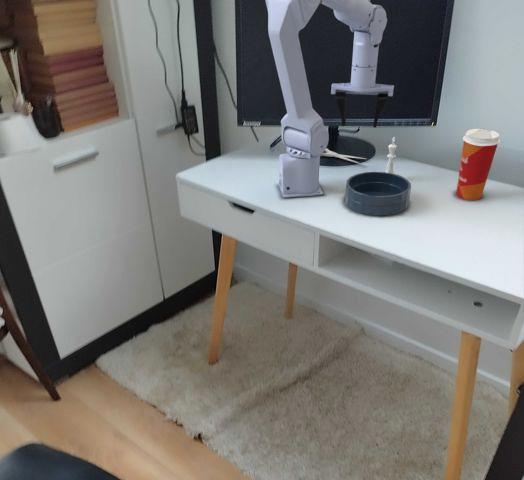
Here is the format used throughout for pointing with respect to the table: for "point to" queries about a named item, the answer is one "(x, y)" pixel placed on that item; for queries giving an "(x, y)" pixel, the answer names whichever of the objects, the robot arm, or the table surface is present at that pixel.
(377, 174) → the bowl
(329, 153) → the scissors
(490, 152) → the paper cup
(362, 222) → the table surface
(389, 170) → the chess piece
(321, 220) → the table surface
